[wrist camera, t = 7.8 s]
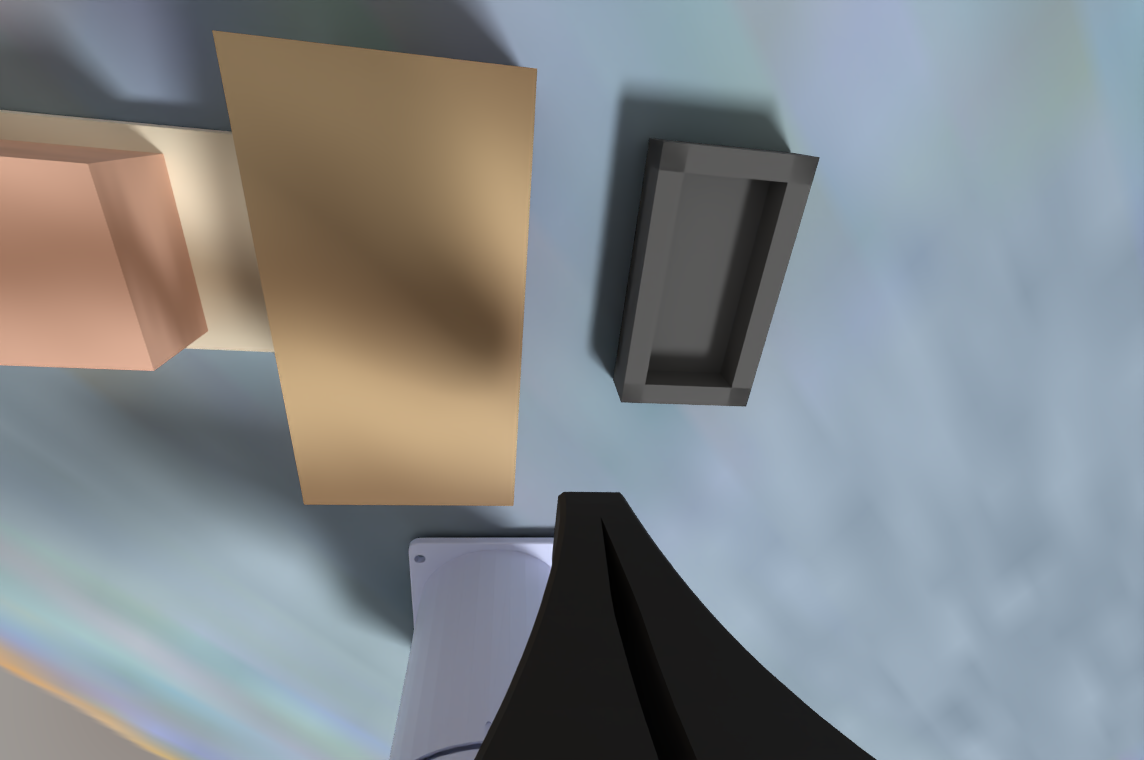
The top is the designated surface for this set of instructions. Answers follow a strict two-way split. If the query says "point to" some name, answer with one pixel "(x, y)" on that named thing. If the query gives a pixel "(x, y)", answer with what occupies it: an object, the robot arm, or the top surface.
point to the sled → (122, 244)
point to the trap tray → (707, 270)
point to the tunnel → (389, 261)
